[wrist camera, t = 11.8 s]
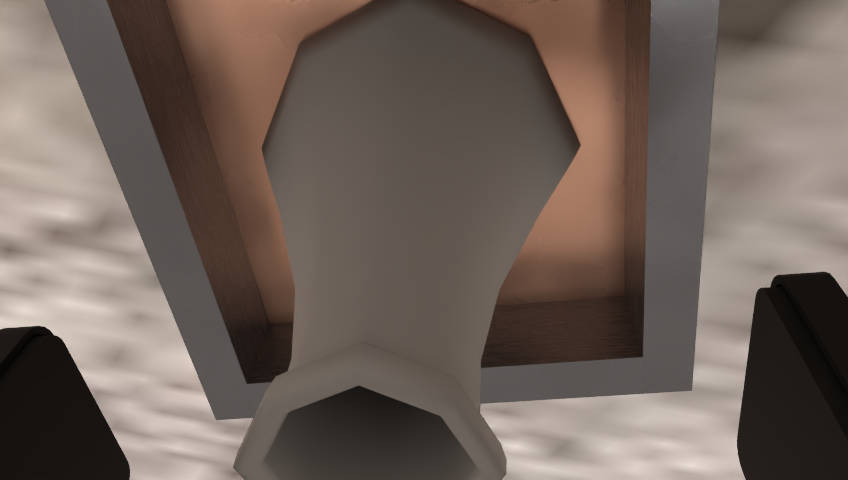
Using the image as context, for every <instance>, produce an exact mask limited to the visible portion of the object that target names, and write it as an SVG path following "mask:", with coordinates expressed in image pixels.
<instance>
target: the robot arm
mask: <svg viewBox="0 0 848 480" xmlns="http://www.w3.org/2000/svg"><path fill="white" fill-rule="evenodd" d="M737 449H738V456H739V461H740V465H741V468H742V471H743V473H744V476H745V479H746V480H848V297H847V296H846V294H845V293H844V291H843V290H842V289H841V287H840V286H839V284H838V283H837V281H836V280H835V279H834V278H833V277H832V275H831V274H830V273H827V272H816V273H801V274H787V275H777V276H775V277H774V279H773V281H772V283H771V287H770V288H760V289H758V291H757V294H756V298H755V306H754V313H753V321H752V329H751V336H750V344H749V352H748V359H747V367H746V375H745V383H744V390H743V398H742V406H741V413H740V421H739V429H738V436H737ZM129 478H130V468H129V464H128V461H127V459H126V457H125V455H124V453H123V451H122V450H121V448H120V446H119V444H118V442H117V440H116V438H115V437H114V435H113V433H112V431H111V429H110V427H109V425H108V424H107V422H106V420H105V418H104V416H103V414H102V412H101V410H100V409H99V407H98V405H97V403H96V401H95V399H94V397H93V396H92V394H91V392H90V390H89V388H88V386H87V384H86V383H85V381H84V379H83V377H82V375H81V373H80V371H79V370H78V368H77V366H76V364H75V362H74V360H73V358H72V357H71V355H70V353H69V351H68V349H67V347H66V345H65V343H64V342H63V341H62V339H61V338H59V337H58V336H54V335H53V334H52V332H51V331H50V330H49V329H47V328H45V327H41V326H32V327H18V328H4V329H1V330H0V480H129Z"/></svg>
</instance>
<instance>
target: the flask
mask: <svg viewBox="0 0 848 480" xmlns="http://www.w3.org/2000/svg"><path fill="white" fill-rule="evenodd" d="M580 146H581V144H580V142H579V140H578V137H577V135H576V133H575V131H574V129H573V127H572V124H571V122H570V120H569V118H568V116H567V114H566V111H565V109H564V107H563V105H562V103H561V101H560V99H559V96H558V94H557V92H556V90H555V88H554V86H553V83H552V81H551V79H550V77H549V75H548V73H547V71H546V68H545V66H544V64H543V62H542V60H541V58H540V55H539V53H538V51H537V49H536V47H535V45H534V42H533V40H532V38H531V37H529V36H527V35H525V34H523V33H521V32H519V31H517V30H515V29H513V28H511V27H509V26H507V25H505V24H502V23H500V22H498V21H496V20H494V19H492V18H490V17H488V16H486V15H484V14H482V13H480V12H478V11H476V10H474V9H472V8H470V7H468V6H466V5H464V4H462V3H459V2H457V1H455V0H374V1H372V2H370V3H368V4H366V5H365V6H363V7H361V8H359V9H358V10H356V11H354V12H352V13H350V14H349V15H347V16H345V17H343V18H342V19H340V20H338V21H336V22H334V23H333V24H331V25H329V26H327V27H326V28H324V29H322V30H320V31H318V32H317V33H315V34H313V35H311V36H310V37H308V38H306V39H304V40H302V41H301V42H300V43H299V46H298V48H297V51H296V54H295V57H294V59H293V62H292V65H291V68H290V71H289V73H288V76H287V79H286V82H285V84H284V87H283V90H282V93H281V95H280V98H279V101H278V104H277V106H276V109H275V112H274V115H273V117H272V120H271V123H270V126H269V128H268V131H267V134H266V137H265V139H264V142H263V145H262V153H263V157H264V162H265V166H266V170H267V173H268V176H269V180H270V183H271V187H272V190H273V193H274V197H275V200H276V203H277V207H278V210H279V214H280V218H281V223H282V228H283V232H284V237H285V242H286V246H287V251H288V256H289V261H290V265H291V270H292V275H293V280H294V284H295V305H294V323H293V340H292V358H291V362H290V365H289V369H288V371H287V372H285V373H282V374H280V375H278V376H276V377H275V378H274V380H273V381H272V383H271V384H270V385H269V387H268V388H267V390H266V392H265V394H264V397H263V399H262V401H261V403H260V405H259V407H258V409H257V412H256V414H255V416H254V418H253V420H252V422H251V425H250V427H249V429H248V431H247V433H246V435H245V438H244V440H243V442H242V444H241V446H240V448H239V451H238V453H237V456H236V459H235V463H234V466H233V468H234V469H235V470H236V471H237V472H238V473H239V474H240V475H241V476H242V477H243V479H244V480H502V479H503V477H504V476H505V475H506V457H505V454H504V451H503V448H502V445H501V443H500V442H499V440H498V439H497V438H496V436H495V435H494V433H493V432H492V430H491V429H490V427H489V426H488V424H487V423H486V421H485V420H484V418H483V417H482V415H481V414H480V384H481V358H482V354H483V350H484V347H485V343H486V339H487V335H488V331H489V327H490V324H491V320H492V316H493V312H494V308H495V304H496V301H497V297H498V293H499V289H500V288H501V286H502V284H503V282H504V280H505V278H506V276H507V274H508V273H509V271H510V269H511V267H512V265H513V263H514V261H515V259H516V258H517V256H518V254H519V252H520V250H521V248H522V246H523V245H524V243H525V241H526V239H527V237H528V235H529V233H530V231H531V230H532V228H533V226H534V224H535V222H536V220H537V218H538V217H539V215H540V213H541V211H542V210H543V208H544V206H545V205H546V203H547V202H548V200H549V198H550V197H551V195H552V194H553V192H554V190H555V189H556V187H557V186H558V184H559V182H560V181H561V179H562V177H563V176H564V174H565V173H566V171H567V169H568V168H569V166H570V165H571V163H572V161H573V159H574V157H575V156H576V154H577V152H578V150H579V148H580Z"/></svg>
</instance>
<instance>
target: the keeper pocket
mask: <svg viewBox="0 0 848 480" xmlns="http://www.w3.org/2000/svg"><path fill="white" fill-rule="evenodd" d="M44 1H45V3H46V5H47V8H48V10H49V13H50V15H51V18H52V20H53V23H54V25H55V27H56V30H57V32H58V35H59V37H60V40H61V42H62V45H63V47H64V49H65V52H66V54H67V57H68V59H69V62H70V64H71V67H72V69H73V71H74V74H75V76H76V79H77V81H78V84H79V86H80V89H81V91H82V93H83V96H84V98H85V101H86V103H87V106H88V108H89V111H90V113H91V115H92V118H93V120H94V123H95V125H96V128H97V130H98V133H99V135H100V137H101V140H102V142H103V145H104V147H105V150H106V152H107V155H108V157H109V159H110V162H111V164H112V167H113V169H114V172H115V174H116V177H117V179H118V181H119V184H120V186H121V189H122V191H123V194H124V196H125V199H126V201H127V203H128V206H129V208H130V211H131V213H132V216H133V218H134V221H135V223H136V225H137V228H138V230H139V233H140V235H141V238H142V240H143V243H144V245H145V247H146V250H147V252H148V255H149V257H150V260H151V262H152V265H153V267H154V269H155V272H156V274H157V277H158V279H159V282H160V284H161V287H162V289H163V291H164V294H165V296H166V299H167V301H168V304H169V306H170V309H171V311H172V313H173V316H174V318H175V321H176V323H177V326H178V328H179V330H180V333H181V335H182V338H183V340H184V343H185V345H186V348H187V350H188V352H189V355H190V357H191V360H192V362H193V365H194V367H195V370H196V372H197V374H198V377H199V379H200V382H201V384H202V387H203V389H204V392H205V394H206V396H207V399H208V401H209V404H210V406H211V409H212V411H213V414H214V416H215V418H216V420H223V419H239V418H254V416H255V414H256V412H257V409H258V407H259V405H260V403H261V401H262V399H263V397H264V394H265V392H266V390H267V388H268V387H269V385H270V384H271V383H272V381H273V380H274V378H275V377H276V376H278V375H280V374H282V373H285V372H287V371H288V369H289V365H290V362H291V358H292V340H293V323H294V305H295V284H294V280H293V275H292V270H291V265H290V261H289V256H288V251H287V246H286V242H285V237H284V232H283V228H282V223H281V218H280V214H279V210H278V207H277V203H276V200H275V197H274V193H273V190H272V187H271V183H270V180H269V176H268V173H267V170H266V166H265V162H264V157H263V153H262V145H263V142H264V139H265V137H266V134H267V131H268V128H269V126H270V123H271V120H272V117H273V115H274V112H275V109H276V106H277V104H278V101H279V98H280V95H281V93H282V90H283V87H284V84H285V82H286V79H287V76H288V73H289V71H290V68H291V65H292V62H293V59H294V57H295V54H296V51H297V48H298V46H299V43H300V42H301V41H302V40H304V39H306V38H308V37H310V36H311V35H313V34H315V33H317V32H318V31H320V30H322V29H324V28H326V27H327V26H329V25H331V24H333V23H334V22H336V21H338V20H340V19H342V18H343V17H345V16H347V15H349V14H350V13H352V12H354V11H356V10H358V9H359V8H361V7H363V6H365V5H366V4H368V3H370V2H372V1H374V0H44ZM455 1H457V2H459V3H462V4H464V5H466V6H468V7H470V8H472V9H474V10H476V11H478V12H480V13H482V14H484V15H486V16H488V17H490V18H492V19H494V20H496V21H498V22H500V23H502V24H505V25H507V26H509V27H511V28H513V29H515V30H517V31H519V32H521V33H523V34H525V35H527V36H529V37H531V38H532V40H533V42H534V45H535V47H536V49H537V51H538V53H539V55H540V58H541V60H542V62H543V64H544V66H545V68H546V71H547V73H548V75H549V77H550V79H551V81H552V83H553V86H554V88H555V90H556V92H557V94H558V96H559V99H560V101H561V103H562V105H563V107H564V109H565V111H566V114H567V116H568V118H569V120H570V122H571V124H572V127H573V129H574V131H575V133H576V135H577V137H578V140H579V142H580V144H581V146H580V148H579V150H578V152H577V154H576V156H575V157H574V159H573V161H572V163H571V165H570V166H569V168H568V169H567V171H566V173H565V174H564V176H563V177H562V179H561V181H560V182H559V184H558V186H557V187H556V189H555V190H554V192H553V194H552V195H551V197H550V198H549V200H548V202H547V203H546V205H545V206H544V208H543V210H542V211H541V213H540V215H539V217H538V218H537V220H536V222H535V224H534V226H533V228H532V230H531V231H530V233H529V235H528V237H527V239H526V241H525V243H524V245H523V246H522V248H521V250H520V252H519V254H518V256H517V258H516V259H515V261H514V263H513V265H512V267H511V269H510V271H509V273H508V274H507V276H506V278H505V280H504V282H503V284H502V286H501V288H500V289H499V293H498V297H497V301H496V304H495V308H494V312H493V316H492V320H491V324H490V327H489V331H488V335H487V339H486V343H485V347H484V350H483V354H482V358H481V384H480V404H482V403H498V402H514V401H531V400H547V399H563V398H579V397H595V396H612V395H628V394H644V393H660V392H676V391H692V381H693V368H694V354H695V340H696V326H697V312H698V298H699V284H700V270H701V256H702V242H703V228H704V214H705V200H706V186H707V172H708V158H709V144H710V130H711V116H712V102H713V88H714V74H715V61H716V47H717V33H718V19H719V5H720V0H455Z"/></svg>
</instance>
